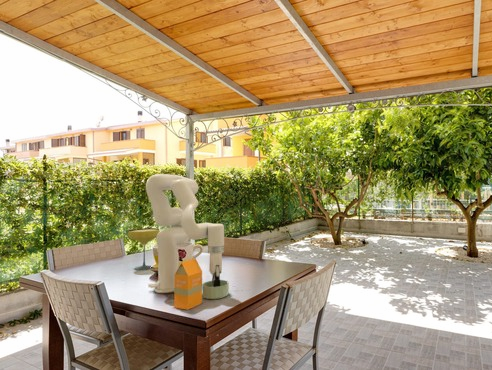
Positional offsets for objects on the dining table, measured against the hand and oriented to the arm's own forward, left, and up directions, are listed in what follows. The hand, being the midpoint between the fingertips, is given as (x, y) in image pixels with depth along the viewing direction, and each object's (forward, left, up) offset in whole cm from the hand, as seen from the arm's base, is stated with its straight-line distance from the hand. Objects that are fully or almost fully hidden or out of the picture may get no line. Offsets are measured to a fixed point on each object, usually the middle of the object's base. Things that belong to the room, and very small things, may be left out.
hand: (216, 286), depth 155 cm
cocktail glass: (-36, +76, -5) cm, 84 cm away
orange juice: (-13, -8, -5) cm, 16 cm away
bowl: (0, 0, -4) cm, 4 cm away
